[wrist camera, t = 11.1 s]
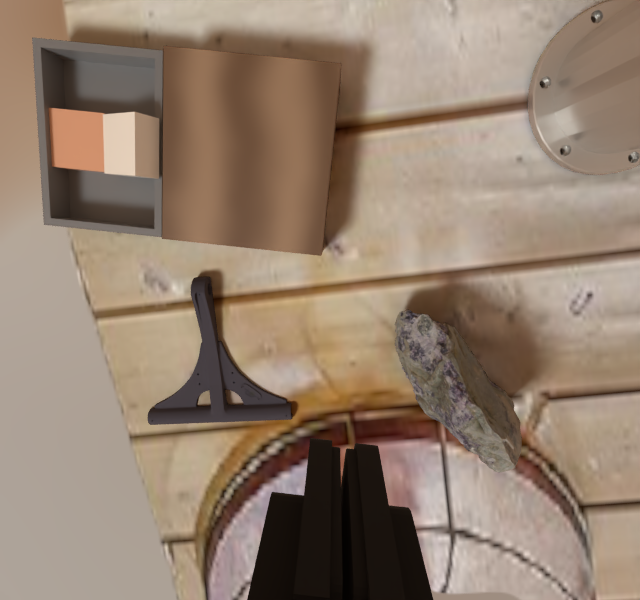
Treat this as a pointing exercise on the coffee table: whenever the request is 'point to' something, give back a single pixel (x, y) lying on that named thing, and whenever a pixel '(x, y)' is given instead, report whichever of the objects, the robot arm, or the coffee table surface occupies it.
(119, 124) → the cream tile
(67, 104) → the box
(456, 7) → the coffee table surface
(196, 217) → the tan square panel
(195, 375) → the bracket
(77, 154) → the terracotta tile
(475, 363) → the mineral rock
